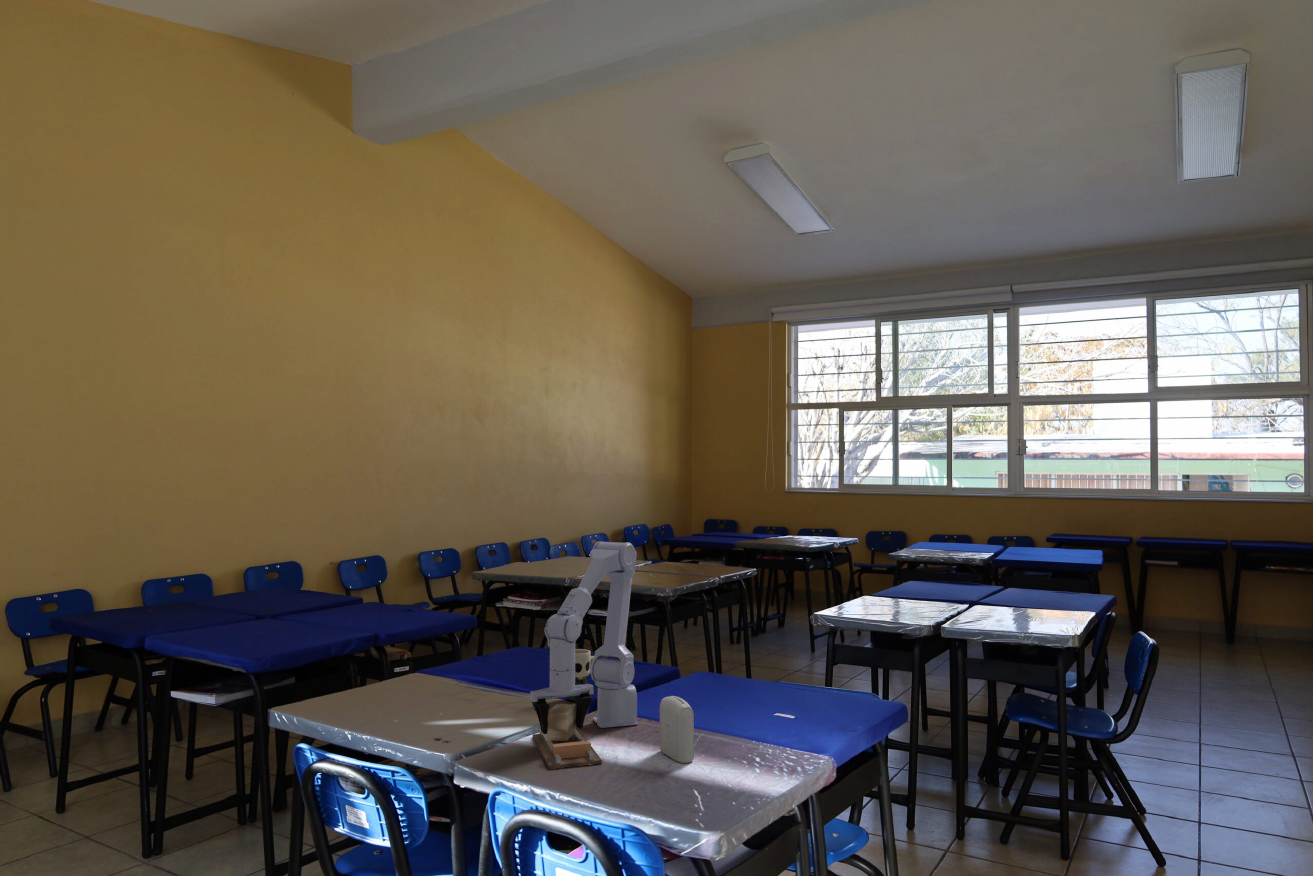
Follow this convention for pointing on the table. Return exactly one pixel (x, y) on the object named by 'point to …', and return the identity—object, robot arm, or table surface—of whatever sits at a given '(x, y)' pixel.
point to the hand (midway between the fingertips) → (562, 730)
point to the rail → (556, 755)
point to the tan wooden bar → (571, 749)
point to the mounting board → (564, 761)
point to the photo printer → (677, 729)
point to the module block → (561, 722)
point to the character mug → (581, 667)
